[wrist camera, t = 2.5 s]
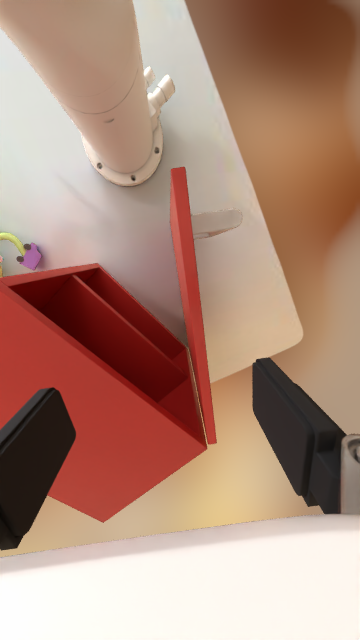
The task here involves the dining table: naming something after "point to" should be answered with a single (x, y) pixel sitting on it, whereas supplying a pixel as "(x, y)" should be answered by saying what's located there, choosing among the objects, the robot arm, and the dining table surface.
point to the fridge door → (195, 280)
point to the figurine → (22, 252)
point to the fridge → (100, 383)
